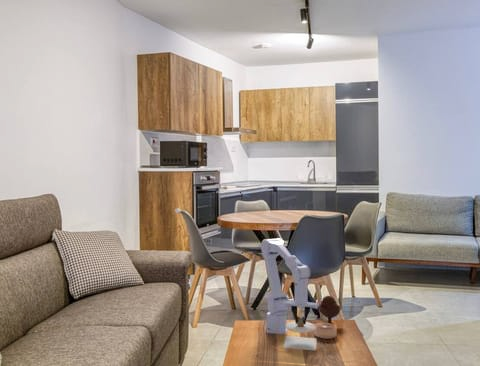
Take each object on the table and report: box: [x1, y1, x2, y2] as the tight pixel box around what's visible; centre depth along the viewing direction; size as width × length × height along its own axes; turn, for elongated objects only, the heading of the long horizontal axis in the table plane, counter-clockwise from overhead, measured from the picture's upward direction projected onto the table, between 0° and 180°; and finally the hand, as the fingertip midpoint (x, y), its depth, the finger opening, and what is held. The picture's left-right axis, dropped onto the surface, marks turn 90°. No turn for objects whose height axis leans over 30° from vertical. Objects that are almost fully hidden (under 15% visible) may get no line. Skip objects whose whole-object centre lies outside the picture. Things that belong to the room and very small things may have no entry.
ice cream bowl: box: [318, 295, 342, 325], centre depth 243 cm, size 11×11×15 cm
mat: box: [283, 335, 318, 351], centre depth 219 cm, size 14×14×1 cm
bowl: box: [314, 322, 338, 340], centre depth 228 cm, size 10×10×5 cm
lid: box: [286, 315, 315, 334], centre depth 219 cm, size 13×13×5 cm
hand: (300, 323), depth 219 cm, fingers closed on lid, 3 cm apart
